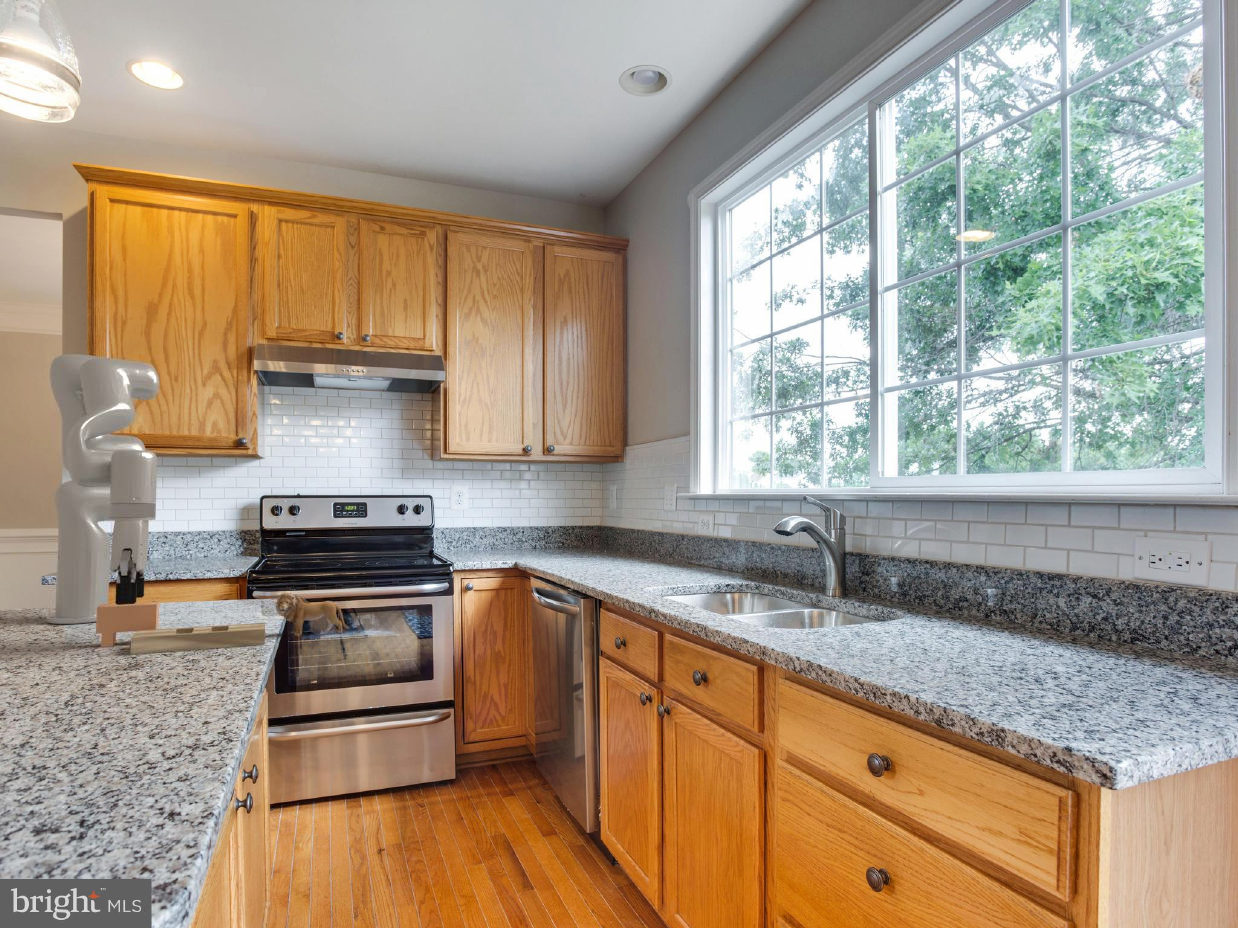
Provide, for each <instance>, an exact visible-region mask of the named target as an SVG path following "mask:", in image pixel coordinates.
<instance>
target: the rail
mask: <svg viewBox="0 0 1238 928" xmlns="http://www.w3.org/2000/svg"><path fill="white" fill-rule="evenodd" d="M130 639H131V640H130V655H142V654H155V653H168V652H182V651H183V652H184V651H194V650H196V651H197V650H209V649H222V648H235V647H238V648H239V647H247V646H248V647H250V646H251V647H252V646H263V645H265V644H266V640H265V639H266V622H259V623H258V622H257V623H256V622H255V623H239V624H238V623H237V624H224V625H223V624H222V625H221V624H219V625H207V626H206V625H205V626H192V627H190V626H189V627H174V628H157V629H155V630H139V631H135V633H134V634H133V635H132V636H131V638H130Z"/></svg>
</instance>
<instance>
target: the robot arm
mask: <svg viewBox="0 0 1238 928" xmlns="http://www.w3.org/2000/svg"><path fill="white" fill-rule="evenodd" d="M49 384H50V387H51V391H52V394H53V396H54V399H55V401H56V402H55V403H56V405H57V407H58V408H59V413H60V416H61V447H62V448H61V454H62V462H63V463H62V464H63V466H64V468H65V469H66V470H67V471H68V473H69V476H70V479H71V480H68V481H65V482H63V483H61V484H60V485H59V486H58V487H57V488H56V490H55V493H54V504H55V505H54V506H55V511H56V516H57V517H56V519H57V529H58V530H57V531H58V534H57V537H58V538H57V540H58V541H57V542H58V543H57V561H56V562H57V565H56V566H57V567H56V584H55V585H56V587H55V590H56V592H55V609H54V610H55V611H54V613H52V614H49V615H46V617H45V622H47V623H48V624H59V625H68V624H69V625H70V624H71V625H72V624H75V625H76V624H85V623H87V624H88V623H94V622H96V619H97V607H98V606H99V605H101V604H109V590H110V572H111V573H116V572H117V576H116V583H115V599H114V600H115V602H114V604H116V605H125V604H135V603H137V599H140V598H141V599H142V598H144V596H145V578H146V577H144V576H145V570H144V569H145V568H146V567H147V564H148V554H149V553H148V552H149V523H150V522H149V521H155V520H156V514H157V512H156V510H157V509H156V508H157V507H156V506H157V482H158V481H157V479H158V478H157V477H158V457H157V455H156V453H155V452H153V451H152V450H147V449H146V446H145V444H144V442H143V441H142V440H141V439H140V438H138V437H136V436H132V435H122V434H121V435H120V434H112V433H115V432H119V431H121V430H124V429H126V428H128V427H129V426H131V425H132V423H134V421H135V419H136V416H137V415H136V409H135V405H134V401H133V400H145V401H146V400H147V401H150V400H153V399H154V398H156V397H157V395H158V393H159V389H160V377H159V374H158V372H157V370H156V369H155V367H154V366H153V365H152V364H151V363H149V362H143V361H135V360H129V359H128V360H127V359H120V358H114V357H113V358H111V357H103V356H99V355H98V356H96V355H89V354H79V353H76V354H74V353H72V354H71V353H69V354H61V355H59V356H56V357H55V358H53V360H52V361H51V364H50V368H49ZM108 521H109V522H112V521H113V523H114V524H113V529H112V538H110V536H109V535H108V534H107V533H106V531H105V530H104V529H103V528H102V527H101V526H100V525H99V522H108ZM110 539H112V540H110Z"/></svg>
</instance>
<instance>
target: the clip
mask: <svg viewBox="0 0 1238 928" xmlns="http://www.w3.org/2000/svg"><path fill="white" fill-rule="evenodd" d="M159 610H160V601H146V602H145V601H141V602H136V603H135V604H125V605H116V604H115V603H108V604H101V605H99V606H98V607H97V619H96V624H95V625H96V626H95V635H96V634H97V635H98V634H101V636H100V637H101V642H100V647H101V648H107V647H113V646H114V645H115V644H116V643H117V633H128V632H129V633H130V632H137V631H139V630H155V629H158V628H159V615H160V614H159V613H160V611H159Z"/></svg>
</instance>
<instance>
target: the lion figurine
mask: <svg viewBox="0 0 1238 928" xmlns="http://www.w3.org/2000/svg"><path fill="white" fill-rule="evenodd" d="M275 610H276V612H277V614H278V615H280V616H282V617H284V618H285V620H286V621H287V622H290V623H291V622H293V623H294V630H292V631H291V634H294V635H293V636H295V637H299V636H301V635H302V633H303V625H304V622H305V621H317V620H319V619H321V618H322V617H325V618H326V621H327V626H326V627H325V628H323V629H322V631H323V632H329V631H330V630H331V628H333V626H334V625H335V626H336V627H337V629H336V630H335V634H342V632H343V628H344V629H345V630H346V629H348V630H349V629H350V626H348V625H347V624H345V620H344V617H343V611H342V610H341V608H340V606H339V604H338V603H336V602H334V601H331V600H326V601H322V602H316V603H314V602H310V601H308V600H307V599H305V598H304V597H300V596H298V595H297V594H294V593H292V592H283V593H281V594H279V595H277V597H276V603H275ZM337 613H338V615H337ZM337 616H339V618H338V617H337Z"/></svg>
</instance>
